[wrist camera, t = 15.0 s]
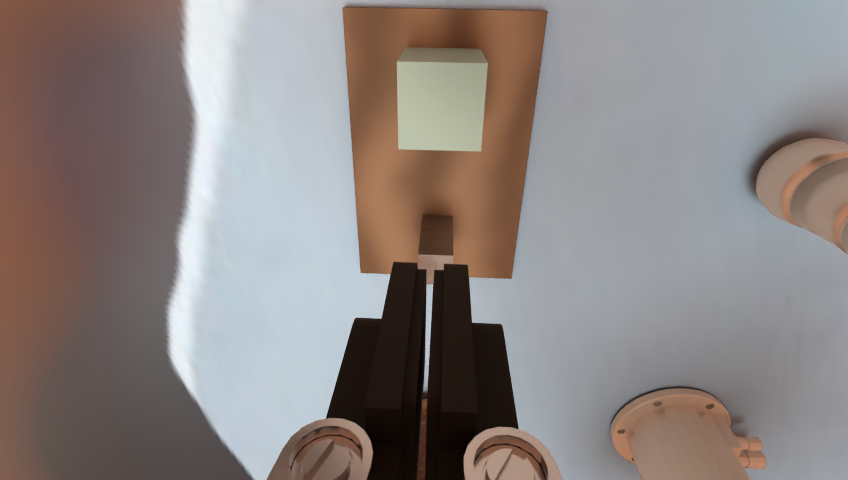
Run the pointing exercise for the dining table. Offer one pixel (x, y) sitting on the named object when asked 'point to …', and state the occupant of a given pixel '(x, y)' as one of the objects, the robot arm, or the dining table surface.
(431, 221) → the brown post
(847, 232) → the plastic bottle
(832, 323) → the dining table surface
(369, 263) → the board
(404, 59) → the olive block
